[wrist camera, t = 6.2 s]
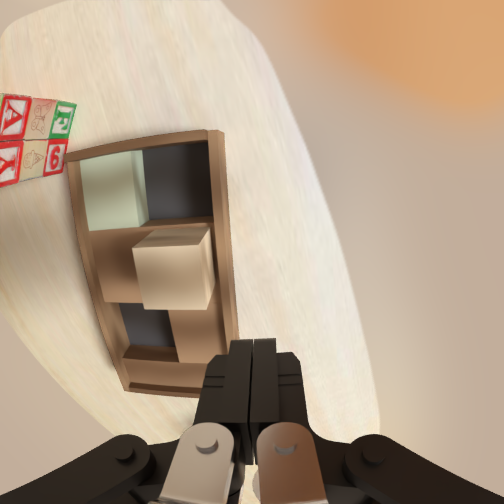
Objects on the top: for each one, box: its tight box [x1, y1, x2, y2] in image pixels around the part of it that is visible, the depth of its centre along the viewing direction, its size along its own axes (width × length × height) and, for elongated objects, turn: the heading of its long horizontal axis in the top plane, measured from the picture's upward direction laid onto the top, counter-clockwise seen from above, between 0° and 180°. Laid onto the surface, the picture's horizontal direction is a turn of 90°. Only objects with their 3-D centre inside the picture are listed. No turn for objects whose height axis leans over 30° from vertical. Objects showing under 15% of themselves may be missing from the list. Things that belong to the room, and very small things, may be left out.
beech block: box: [132, 227, 216, 310], centre depth 19 cm, size 4×4×4 cm
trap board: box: [63, 129, 239, 398], centre depth 22 cm, size 21×11×4 cm, turn 3°
